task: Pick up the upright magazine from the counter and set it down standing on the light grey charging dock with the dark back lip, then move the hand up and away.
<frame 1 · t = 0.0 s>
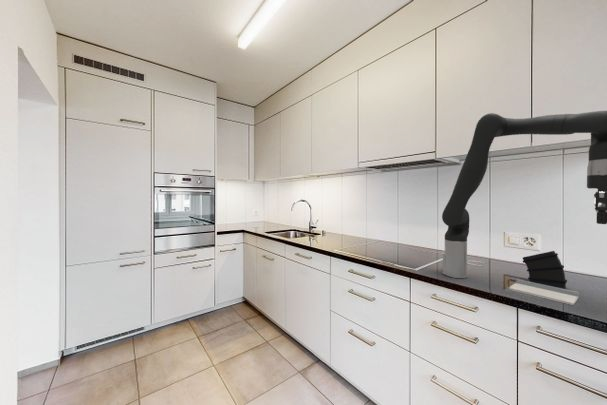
hand: (603, 222, 81), 29 cm above the table, tool pointing down, fingers open, 8 cm apart
charging dock: (542, 293, 96), on the table
pliers: (467, 263, 141), on the table
magazine: (543, 285, 105), on the table
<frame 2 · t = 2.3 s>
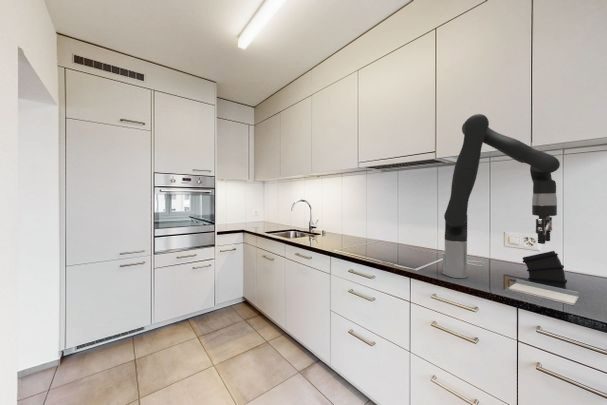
hand: (544, 242, 105), 18 cm above the table, tool pointing down, fingers open, 8 cm apart
nothing on the table moved.
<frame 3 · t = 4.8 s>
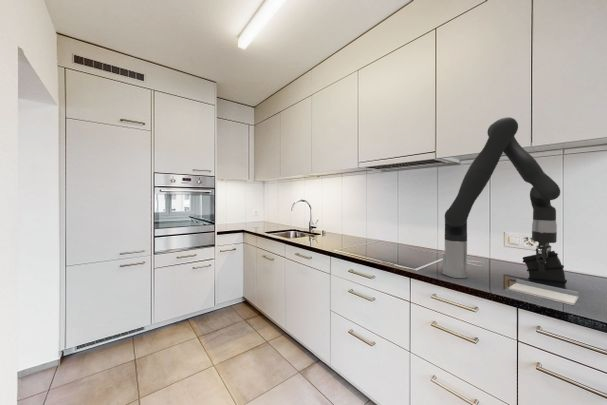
hand: (543, 270, 105), 6 cm above the table, tool pointing down, fingers closed on magazine, 3 cm apart
magazine: (543, 285, 105), on the table, touching gripper
everything else where it was.
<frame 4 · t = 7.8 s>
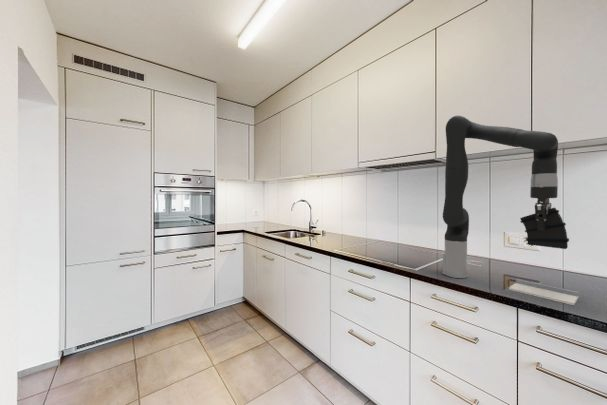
hand: (542, 229, 96), 25 cm above the table, tool pointing down, fingers closed on magazine, 3 cm apart
magazine: (542, 246, 96), point 19 cm above the table, touching gripper
everything else where it was.
when the fingers open (8 cm above the table, at t = 11.0 s): magazine stays where it is, resting on charging dock.
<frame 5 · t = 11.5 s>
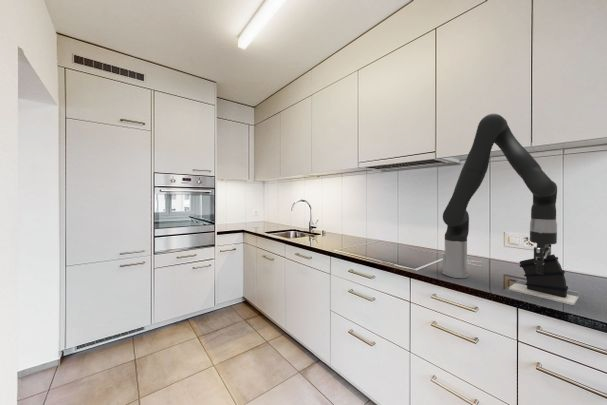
hand: (542, 271, 96), 9 cm above the table, tool pointing down, fingers open, 8 cm apart
magazine: (542, 292, 96), point 1 cm above the table, touching charging dock
everything else where it was.
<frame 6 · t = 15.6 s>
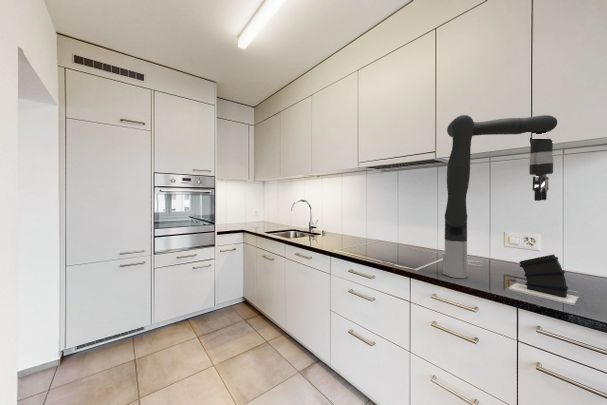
hand: (540, 200, 108), 36 cm above the table, tool pointing down, fingers open, 8 cm apart
nothing on the table moved.
at the end: magazine 0.1 cm off-centre on the charging dock, point 0.6 cm above the charging dock's base; magazine tilted 0°; the gripper is holding nothing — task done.
